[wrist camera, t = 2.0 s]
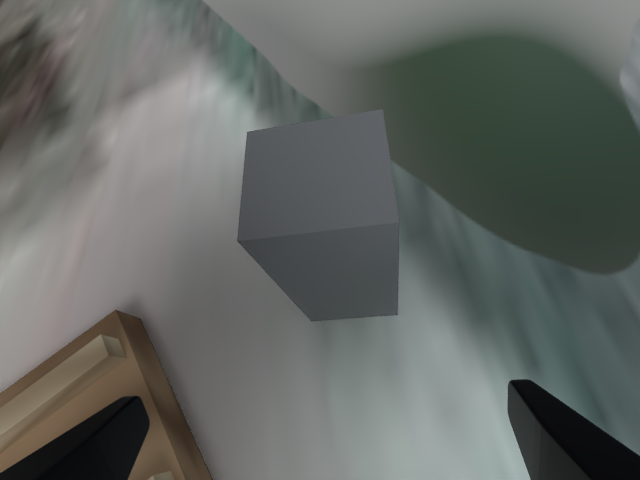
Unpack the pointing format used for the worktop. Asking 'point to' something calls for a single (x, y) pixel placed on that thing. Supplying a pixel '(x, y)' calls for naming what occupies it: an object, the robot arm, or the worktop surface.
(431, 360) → the worktop surface
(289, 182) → the tall grey pillar block
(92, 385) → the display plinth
